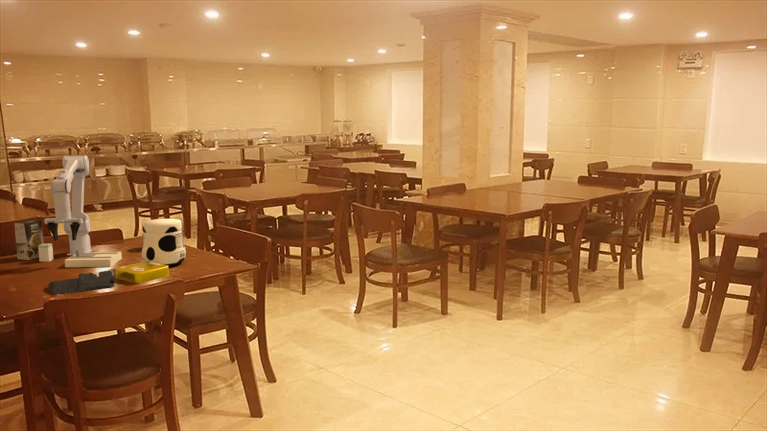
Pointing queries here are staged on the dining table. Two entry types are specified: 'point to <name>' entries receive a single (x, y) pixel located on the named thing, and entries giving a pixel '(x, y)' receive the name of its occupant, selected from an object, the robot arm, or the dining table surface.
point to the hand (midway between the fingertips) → (65, 240)
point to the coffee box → (28, 238)
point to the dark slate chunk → (83, 283)
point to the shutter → (81, 253)
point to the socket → (94, 260)
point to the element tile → (142, 272)
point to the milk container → (163, 241)
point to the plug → (45, 252)
